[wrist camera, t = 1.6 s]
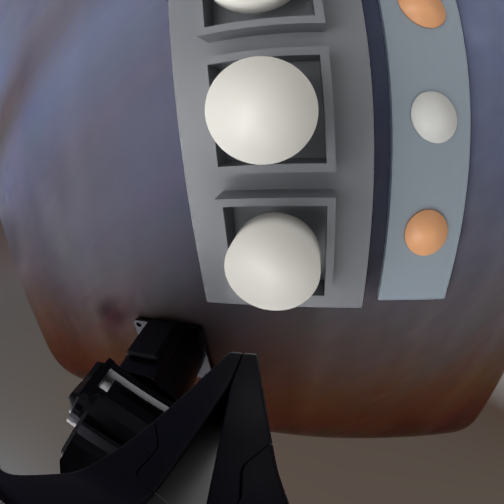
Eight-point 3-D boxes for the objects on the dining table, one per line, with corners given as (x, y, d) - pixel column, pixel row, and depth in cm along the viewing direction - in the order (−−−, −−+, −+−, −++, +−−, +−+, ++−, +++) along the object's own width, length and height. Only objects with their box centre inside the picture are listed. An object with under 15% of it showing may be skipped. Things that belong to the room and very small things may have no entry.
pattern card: (441, 294, 18) (445, 300, 17) (376, 295, 19) (378, 301, 18) (439, -42, 7) (442, -46, 7) (362, -58, 8) (364, -63, 8)
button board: (358, 289, 19) (364, 324, 16) (215, 285, 21) (199, 316, 18) (341, -55, 9) (345, -84, 6) (180, -36, 11) (154, -57, 8)
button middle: (319, 156, 12) (321, 163, 11) (223, 160, 13) (210, 167, 12) (313, 60, 10) (313, 52, 9) (214, 69, 11) (200, 64, 10)
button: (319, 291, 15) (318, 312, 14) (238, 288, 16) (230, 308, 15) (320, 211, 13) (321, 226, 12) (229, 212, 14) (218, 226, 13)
